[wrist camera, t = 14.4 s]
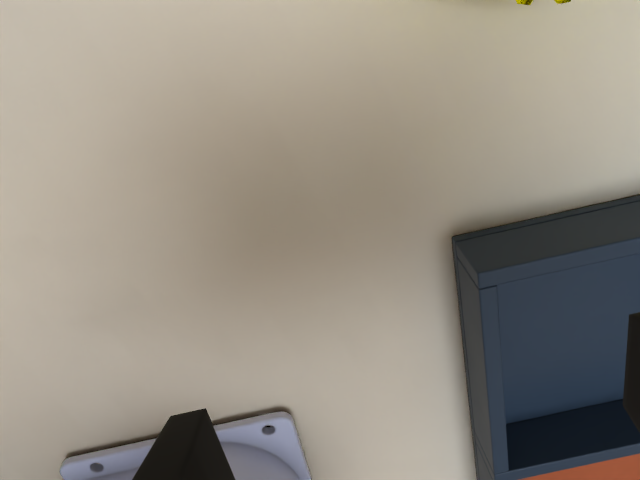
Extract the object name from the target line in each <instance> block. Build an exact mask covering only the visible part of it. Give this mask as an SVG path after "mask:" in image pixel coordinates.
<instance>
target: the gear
mask: <svg viewBox="0 0 640 480" xmlns="http://www.w3.org/2000/svg"><path fill="white" fill-rule="evenodd" d="M532 1H533V0H516V2H517V4H524V5H531V3H532ZM554 1H555V2H556V3H557V4H560V3H566V2H570V1H571V0H554Z"/></svg>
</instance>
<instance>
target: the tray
mask: <svg viewBox="0 0 640 480" xmlns="http://www.w3.org/2000/svg"><path fill="white" fill-rule="evenodd" d="M452 244H453V254H454V263H455V273H456V282H457V292H458V301H459V311H460V321H461V330H462V340H463V349H464V359H465V368H466V378H467V388H468V397H469V407H470V416H471V426H472V435H473V445H474V454H475V464H476V474H477V480H640V433H639V431H638V430H637V428H636V426H635V425H634V423H633V421H632V420H631V418H630V417H629V415H628V413H627V412H626V410H625V408H624V407H623V393H624V379H625V365H626V350H627V336H628V322H629V314H634V313H638V312H640V195H637V196H633V197H628V198H624V199H619V200H615V201H610V202H606V203H602V204H597V205H593V206H588V207H584V208H579V209H575V210H570V211H566V212H561V213H557V214H552V215H548V216H543V217H539V218H534V219H530V220H525V221H521V222H517V223H512V224H508V225H503V226H499V227H494V228H490V229H485V230H481V231H476V232H472V233H467V234H463V235H458V236H454V237H452Z"/></svg>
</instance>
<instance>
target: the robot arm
mask: <svg viewBox="0 0 640 480" xmlns="http://www.w3.org/2000/svg"><path fill="white" fill-rule="evenodd" d="M623 407H624V408H625V410H626V412H627V413H628V415H629V417H630V418H631V420H632V421H633V423H634V425H635V426H636V428H637V430H638V431H639V433H640V312H638V313H634V314H629V322H628V336H627V350H626V365H625V379H624V393H623ZM266 425H271V426H272V427H265V426H266ZM97 463H99V464H97ZM60 474H61V476H62V478H63V479H64V480H312V477H311V474H310V471H309V468H308V465H307V461H306V458H305V455H304V452H303V449H302V446H301V442H300V439H299V436H298V433H297V430H296V427H295V423H294V420H293V418H292V416H291V415H290V414H289V413H287V412H283V411H281V412H274V413H270V414H265V415H260V416H256V417H251V418H247V419H242V420H238V421H233V422H228V423H224V424H219V425H215V426H213V424H212V422H211V420H210V417H209V415H208V412H207V410H206V408H205V409H201V410H196V411H192V412H187V413H183V414H178V415H174V416H171V417H170V418H169V420H168V421H167V423H166V424H165V426H164V427H163V429H162V431H161V432H160V434H159V435H158V437H157V438H155V439H151V440H146V441H142V442H137V443H133V444H128V445H123V446H119V447H114V448H110V449H105V450H101V451H96V452H91V453H87V454H82V455H78V456H73V457H69V458H67V459H65V460H64V461H63V463H62V465H61V467H60Z"/></svg>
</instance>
